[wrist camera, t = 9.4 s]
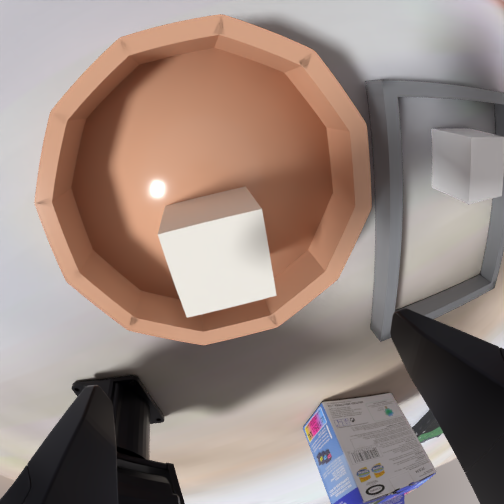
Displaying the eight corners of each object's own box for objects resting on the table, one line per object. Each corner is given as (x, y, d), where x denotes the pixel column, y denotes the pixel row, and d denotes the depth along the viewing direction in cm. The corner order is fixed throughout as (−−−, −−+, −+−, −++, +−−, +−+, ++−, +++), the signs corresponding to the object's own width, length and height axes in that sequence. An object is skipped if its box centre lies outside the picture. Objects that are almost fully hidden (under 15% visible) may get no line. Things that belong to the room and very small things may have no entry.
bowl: (345, 272, 21) (370, 299, 18) (119, 327, 19) (111, 362, 16) (319, 25, 13) (347, 10, 10) (38, 90, 12) (7, 88, 9)
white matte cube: (259, 258, 18) (276, 295, 15) (186, 276, 18) (186, 317, 14) (245, 186, 16) (261, 208, 13) (165, 206, 16) (157, 234, 12)
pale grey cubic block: (466, 180, 20) (501, 196, 16) (430, 187, 19) (468, 204, 16) (467, 127, 18) (505, 137, 14) (430, 128, 17) (471, 137, 14)
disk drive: (455, 372, 34) (399, 436, 39) (465, 384, 32) (407, 448, 37) (483, 369, 37) (434, 427, 42) (492, 379, 35) (440, 437, 40)
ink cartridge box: (299, 429, 29) (341, 541, 16) (318, 400, 27) (373, 524, 14) (369, 419, 32) (417, 509, 19) (391, 390, 30) (450, 486, 17)
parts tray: (483, 279, 25) (494, 288, 24) (370, 328, 24) (380, 341, 22) (499, 92, 17) (514, 95, 15) (365, 81, 15) (381, 79, 14)
